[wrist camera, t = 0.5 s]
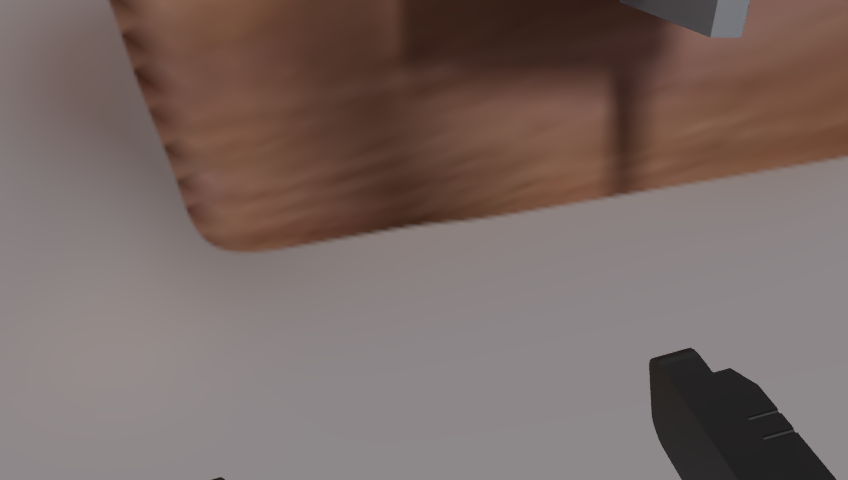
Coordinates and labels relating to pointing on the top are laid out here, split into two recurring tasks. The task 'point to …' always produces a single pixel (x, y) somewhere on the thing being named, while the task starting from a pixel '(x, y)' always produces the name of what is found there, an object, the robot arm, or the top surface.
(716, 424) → the robot arm
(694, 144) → the top surface
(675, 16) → the side door
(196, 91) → the top surface
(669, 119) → the top surface
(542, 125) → the top surface
